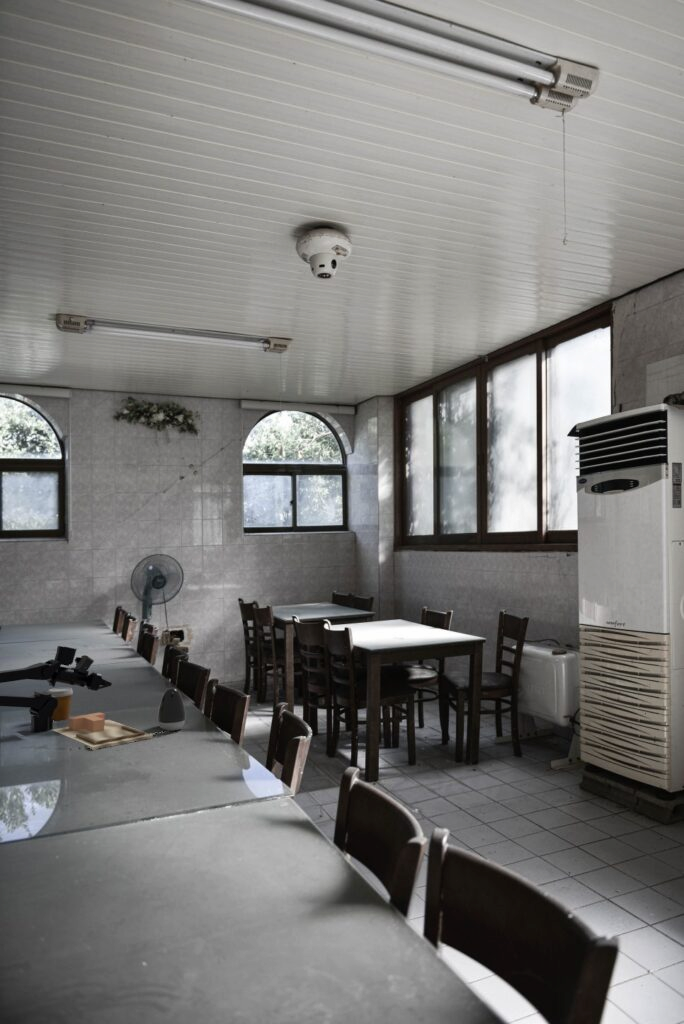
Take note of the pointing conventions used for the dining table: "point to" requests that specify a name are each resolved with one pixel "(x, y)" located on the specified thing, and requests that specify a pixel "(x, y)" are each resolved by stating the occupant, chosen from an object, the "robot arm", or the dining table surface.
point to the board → (105, 735)
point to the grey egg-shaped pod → (171, 710)
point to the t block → (88, 722)
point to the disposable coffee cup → (62, 702)
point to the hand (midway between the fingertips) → (105, 683)
